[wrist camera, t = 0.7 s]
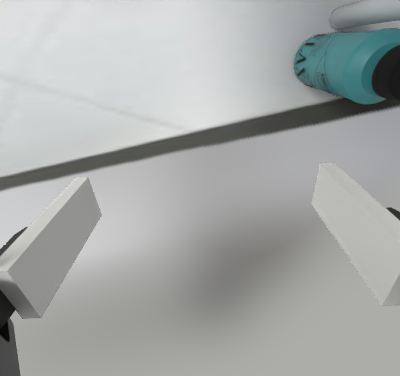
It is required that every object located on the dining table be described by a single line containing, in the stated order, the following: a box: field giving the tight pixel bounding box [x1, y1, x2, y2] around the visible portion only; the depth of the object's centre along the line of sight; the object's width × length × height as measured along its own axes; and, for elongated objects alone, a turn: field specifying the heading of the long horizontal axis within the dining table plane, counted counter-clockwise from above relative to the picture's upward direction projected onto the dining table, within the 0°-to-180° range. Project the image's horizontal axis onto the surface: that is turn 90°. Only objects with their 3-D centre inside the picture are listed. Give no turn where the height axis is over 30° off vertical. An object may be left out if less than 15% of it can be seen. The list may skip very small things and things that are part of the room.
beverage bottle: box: [294, 28, 400, 104], centre depth 26 cm, size 6×7×20 cm
